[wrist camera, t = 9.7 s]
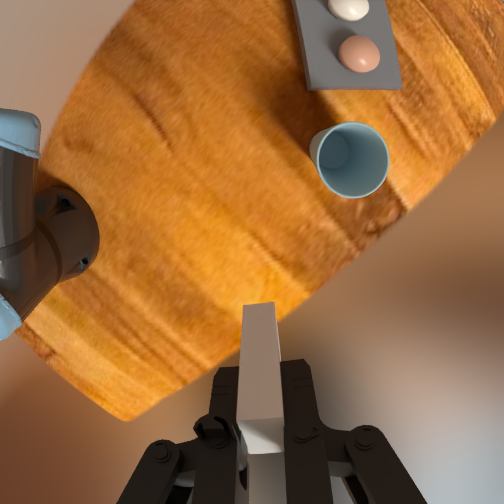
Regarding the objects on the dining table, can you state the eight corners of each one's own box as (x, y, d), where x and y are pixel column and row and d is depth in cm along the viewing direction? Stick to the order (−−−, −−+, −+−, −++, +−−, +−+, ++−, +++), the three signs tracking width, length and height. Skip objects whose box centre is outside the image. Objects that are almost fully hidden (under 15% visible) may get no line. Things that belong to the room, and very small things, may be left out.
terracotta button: (336, 75, 30) (345, 71, 27) (330, 42, 28) (339, 34, 25) (370, 76, 30) (382, 72, 26) (364, 43, 28) (376, 36, 24)
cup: (290, 134, 35) (303, 139, 26) (342, 112, 34) (373, 110, 24) (314, 186, 38) (334, 210, 28) (365, 164, 36) (399, 180, 27)
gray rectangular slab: (307, 90, 33) (311, 88, 30) (279, -44, 23) (281, -54, 21) (392, 90, 32) (402, 88, 29) (362, -40, 23) (368, -48, 20)
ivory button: (327, 26, 27) (335, 17, 24) (320, -3, 25) (327, -15, 22) (361, 27, 27) (372, 19, 23) (354, -1, 25) (364, -12, 22)
